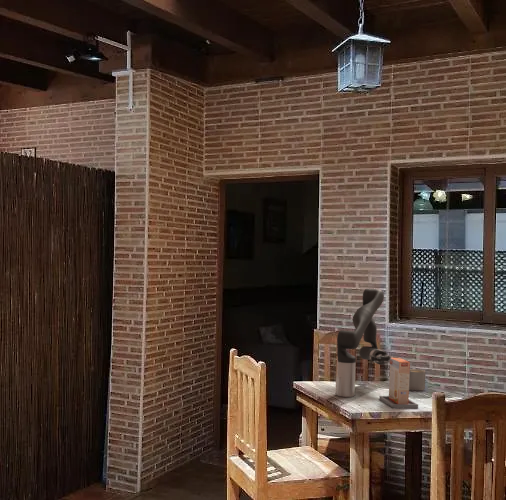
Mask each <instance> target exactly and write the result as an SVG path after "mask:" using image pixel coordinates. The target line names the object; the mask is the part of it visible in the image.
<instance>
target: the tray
mask: <svg viewBox="0 0 506 500" xmlns="http://www.w3.org/2000/svg"><path fill="white" fill-rule="evenodd" d="M379 401H381V402H382V403H383V404H385V405H387V406H388V407H390V408H391V409H419V404H418V403H416V402H414V401H412V400H411V399H409V402H408V404H396V403H395V402H393V401H392V400H390V399H389V395H380V396H379Z"/></svg>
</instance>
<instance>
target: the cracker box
mask: <svg viewBox="0 0 506 500" xmlns="http://www.w3.org/2000/svg"><path fill="white" fill-rule="evenodd" d="M410 369H411V361H407V359H404V358H401V357H399V358H390V362H389V375H388V376H389V379H388V380H389V382H388V396H389V399H390V400H392V401H393V402H395V403H396V404H408V402H409V400H410V398H409V397H410V389H409V375H410Z"/></svg>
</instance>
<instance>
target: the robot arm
mask: <svg viewBox="0 0 506 500" xmlns="http://www.w3.org/2000/svg"><path fill="white" fill-rule="evenodd" d="M384 299H385V294H384V291H383V290H382V289H380V288H379V289H377V288H365V289H364V290H363V293H362V306H360V307H358V308H357V309H356V311H355V313H354V314H353V316H352V320H351V321H352V324H353V326H354V329H355V330H353V331H352V330H345V329H344V330H339V331H338V334H337V335H336V336H337V337H336V350H337V351H336V355H337V356H336V357H337V364H336V365H337V367H336V369H337V371H336V376H335V395H336V396H338V397H344V398H345V397H346V398H350V397H355V395H356V393H355V387H356V364H357V363H356V359H357V358H356V356H355V355H352V354H351V353H350V352H349V351H347V349H348V350H356V349H358V348H359V345H360V342H361V341H362V338H363V341H364V342H365V343H367V344H368V343H369V344H370V345H371V346H362V347H361V348H360V349H359V353H358V354H359V357H360V358H361V359H362V360H367V361H371V362H372V363H375V364H377V365H385V364H386V363H390V358H400V357H399V356H395V355H393V356H392V355H388V353H387V352H386V351H384V350H382V349H379V347H378V341H377V333H378V331H377V330H378V328H377V325H376V322H375V320H374V315H375V313H376V312H377V310H379V308H380V307H381V305H383V302H384Z"/></svg>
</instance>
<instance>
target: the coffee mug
mask: <svg viewBox="0 0 506 500" xmlns="http://www.w3.org/2000/svg"><path fill="white" fill-rule="evenodd" d="M426 374H427V373H426V370H424V369H415V368H413V369H411V368H410V375H409V391H425V390H426ZM424 389H425V390H424Z"/></svg>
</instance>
